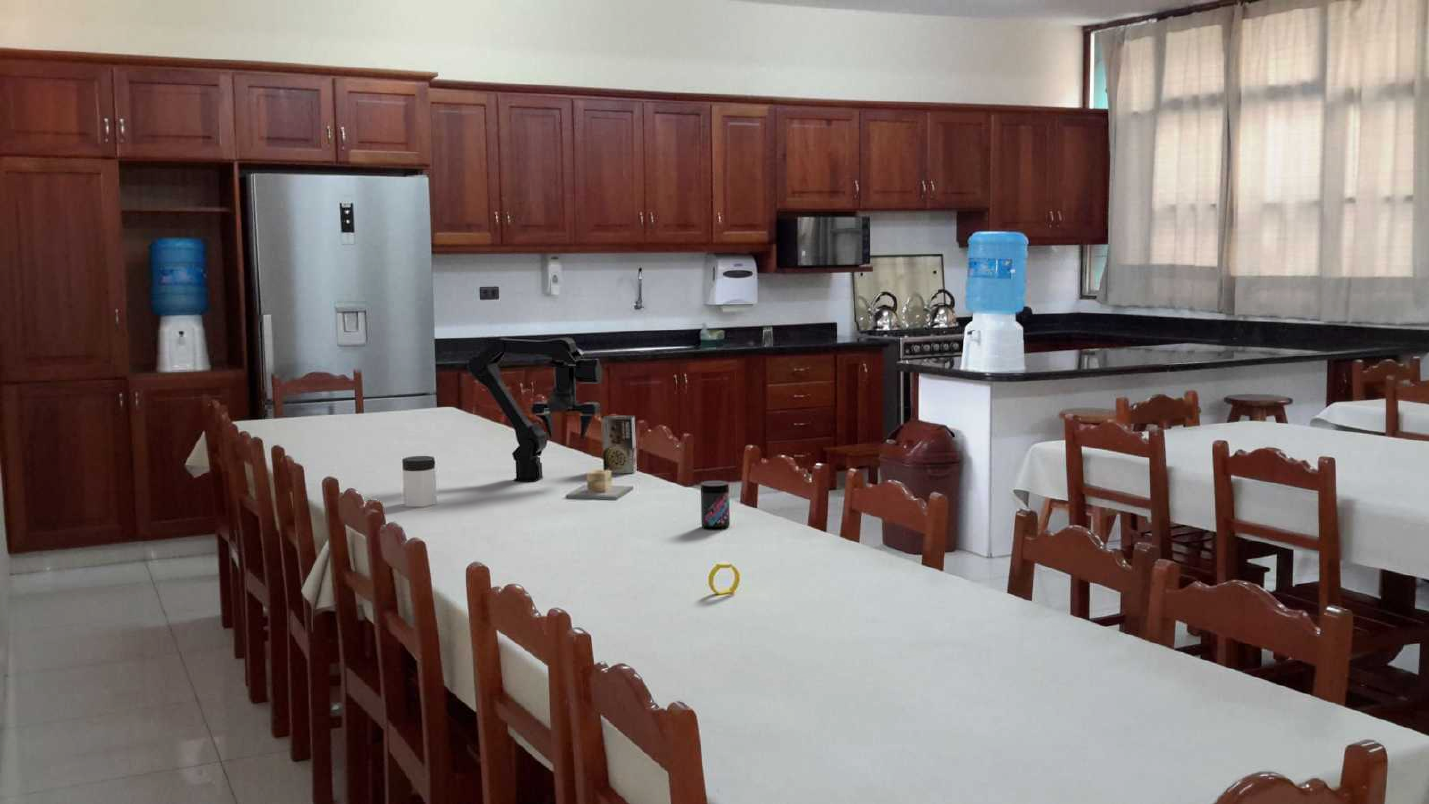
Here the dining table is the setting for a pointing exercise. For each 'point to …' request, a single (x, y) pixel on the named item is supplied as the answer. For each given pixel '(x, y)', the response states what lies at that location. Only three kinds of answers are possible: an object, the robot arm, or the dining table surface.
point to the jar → (419, 481)
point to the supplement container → (715, 505)
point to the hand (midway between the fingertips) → (567, 438)
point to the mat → (600, 493)
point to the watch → (719, 565)
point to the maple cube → (599, 481)
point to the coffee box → (619, 444)
